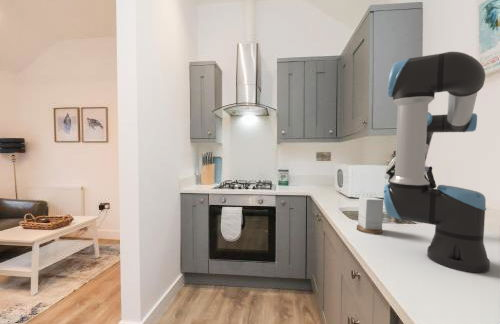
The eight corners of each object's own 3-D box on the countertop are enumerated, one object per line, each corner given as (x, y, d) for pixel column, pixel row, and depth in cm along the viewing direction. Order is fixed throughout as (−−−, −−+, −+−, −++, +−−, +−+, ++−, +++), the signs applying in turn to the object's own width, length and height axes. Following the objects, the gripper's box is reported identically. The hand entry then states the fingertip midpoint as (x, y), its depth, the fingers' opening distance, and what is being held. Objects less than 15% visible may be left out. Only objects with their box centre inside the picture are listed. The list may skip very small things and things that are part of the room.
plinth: (387, 234, 106) (387, 230, 106) (364, 233, 105) (364, 230, 105) (373, 227, 116) (373, 223, 116) (352, 226, 115) (352, 223, 115)
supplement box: (382, 229, 106) (384, 200, 106) (364, 229, 106) (366, 199, 106) (373, 224, 114) (375, 196, 113) (357, 224, 114) (358, 196, 113)
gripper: (442, 165, 118) (432, 207, 113) (386, 148, 125) (374, 187, 120) (452, 159, 111) (441, 204, 106) (392, 141, 118) (379, 183, 113)
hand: (405, 195), depth 113 cm, fingers open, 13 cm apart
